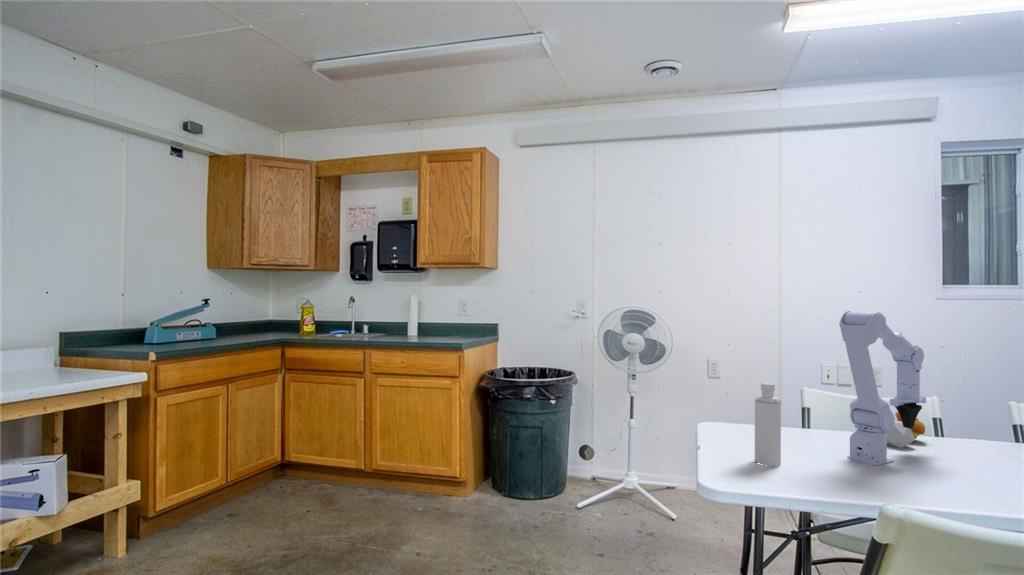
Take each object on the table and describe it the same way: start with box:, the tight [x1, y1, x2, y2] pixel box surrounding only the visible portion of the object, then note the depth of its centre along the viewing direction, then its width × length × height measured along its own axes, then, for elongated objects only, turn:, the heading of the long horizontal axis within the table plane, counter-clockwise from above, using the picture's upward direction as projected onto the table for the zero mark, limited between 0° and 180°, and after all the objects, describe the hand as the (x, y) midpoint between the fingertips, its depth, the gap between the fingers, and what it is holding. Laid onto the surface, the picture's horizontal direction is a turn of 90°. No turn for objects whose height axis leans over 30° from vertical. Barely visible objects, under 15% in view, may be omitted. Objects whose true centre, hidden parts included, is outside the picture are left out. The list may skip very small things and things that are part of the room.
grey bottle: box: [754, 382, 782, 467], centre depth 153 cm, size 7×7×25 cm
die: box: [887, 419, 916, 449], centre depth 174 cm, size 8×9×10 cm
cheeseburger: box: [894, 411, 926, 440], centre depth 182 cm, size 10×11×10 cm
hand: (908, 427), depth 166 cm, fingers closed
